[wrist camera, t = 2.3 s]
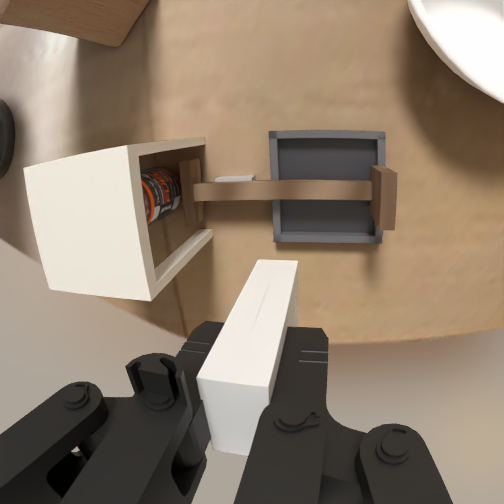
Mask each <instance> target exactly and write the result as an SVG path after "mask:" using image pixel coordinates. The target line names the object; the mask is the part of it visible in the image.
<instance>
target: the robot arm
mask: <svg viewBox="0 0 504 504" xmlns="http://www.w3.org/2000/svg"><path fill="white" fill-rule="evenodd" d="M13 148H14V124H13V118H12V115H11V112H10V109H9V107H8V106H7V104H6V103H5V102H4V101H3V100H1V99H0V178H1V177H2V176H3V175H4V174H5V173H6V171H7V169H8V167H9V165H10V162H11V159H12V154H13ZM297 306H298V261H286V260H258V261H257V263H256V265H255V267H254V269H253V271H252V273H251V275H250V276H249V278H248V280H247V282H246V284H245V286H244V288H243V290H242V292H241V294H240V296H239V297H238V299H237V301H236V303H235V305H234V307H233V309H232V311H231V313H230V315H229V316H228V318H227V320H226V322H225V323H221V322H210V321H205V322H204V323H202V324H201V325H199V326H198V327H196V328H195V329H194V330H193V331H192V333H191V334H190V336H189V337H188V339H187V342H185V343H184V345H183V346H182V348H181V351H179V353H178V354H177V356H176V357H174V356H171V355H168V354H163V353H152V354H147V355H142V356H140V357H138V358H136V359H133V360H132V361H131V362H130V363H129V364H127V365H126V366H125V367H126V370H127V373H128V376H129V379H130V381H131V384H132V387H133V389H134V392H135V394H134V396H133V397H103V395H102V393H101V391H100V389H99V388H98V387H97V386H96V385H95V384H92V383H90V382H75V383H71V384H69V385H67V386H65V387H63V388H62V389H60V390H59V391H58V392H56V393H55V394H54V395H52V396H51V397H50V398H49V399H47V400H46V401H45V402H43V403H42V404H40V405H39V406H38V407H36V408H35V409H34V410H32V411H31V412H30V413H28V414H27V415H26V416H24V417H23V418H22V419H20V420H19V421H18V422H16V423H15V424H14V425H12V426H11V427H10V428H8V429H7V430H6V431H4V432H3V433H2V434H0V504H191V503H192V500H193V497H194V495H195V493H196V490H197V488H198V485H199V483H200V480H201V478H202V475H203V472H204V470H205V468H206V462H207V459H206V455H205V450H206V448H207V445H208V443H209V441H210V440H211V444H212V448H213V450H217V451H223V452H228V453H234V454H240V455H247V456H248V459H247V462H246V465H245V469H244V472H243V475H242V478H241V482H240V485H239V488H238V492H237V494H236V498H235V501H234V504H453V502H452V500H451V498H450V496H449V493H448V491H447V489H446V486H445V484H444V482H443V480H442V478H441V475H440V473H439V471H438V469H437V467H436V465H435V463H434V460H433V459H432V456H431V454H430V452H429V450H428V448H427V446H426V444H425V442H424V440H423V439H422V437H421V436H420V435H419V434H418V433H417V432H416V431H415V430H413V429H411V428H410V427H408V426H404V425H400V424H384V425H381V426H378V427H376V428H373V429H372V430H370V431H369V432H368V433H364V432H360V431H357V430H353V429H350V428H348V427H345V426H343V425H341V424H340V423H338V422H337V421H335V420H334V419H333V418H332V417H331V415H330V414H329V412H328V410H327V407H326V389H327V367H328V337H327V336H326V334H325V333H324V331H323V330H322V328H307V327H297ZM76 446H77V447H78V448H79V450H80V451H78V452H71V451H72V450H73V449H74V448H75V447H76Z"/></svg>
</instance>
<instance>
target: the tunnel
mask: <svg viewBox="0 0 504 504" xmlns="http://www.w3.org/2000/svg"><path fill="white" fill-rule="evenodd" d="M199 145H205V139H204V137H197V138H185V139H175V140H165V141H156V142H147V143H139V144H132V145H125V146H119V147H114V148H108V149H103V150H98V151H93V152H88V153H83V154H79V155H74V156H69V157H65V158H61V159H57V160H52V161H48V162H44V163H41V164H37V165H33V166H29V167H26V168H23V169H24V176H25V183H26V190H27V196H28V202H29V207H30V213H31V218H32V223H33V227H34V232H35V236H36V241H37V245H38V249H39V253H40V257H41V261H42V264H43V268H44V272H45V275H46V278H47V282H48V285H49V288H50V289H52V290H58V291H65V292H73V293H81V294H89V295H97V296H106V297H115V298H124V299H134V300H144V301H152V300H153V299H154V298H155V297H156V296H157V295H158V293H159V292H160V291H161V290H162V289H163V288H164V287H165V286H166V285H167V284H168V283H169V282H170V281H171V280H172V279H173V277H174V276H175V275H176V274H177V273H178V272H179V271H180V270H181V269H182V268H183V267H184V266H185V265H186V264H187V263H188V262H189V261H190V260H191V259H192V257H193V256H194V255H195V254H196V253H197V252H198V251H199V250H200V249H201V248H202V247H203V246H204V245H205V244H206V243H207V242H208V241H209V240H210V239H211V238H212V237H213V232H212V229H199V230H198V231H197V232H196V233H195V234H194V235H192V236H191V237H190V238H189V239H188V240H187V241H185V242H184V243H183V244H182V245H181V246H180V247H179V248H177V249H176V250H175V251H174V252H173V253H172V254H171V255H170V256H168V257H167V258H166V259H165V260H164V261H163V262H162V263H161V264H159V265H158V266H157V267H156V268H155V269H154V264H153V258H152V252H151V246H150V240H149V234H148V228H147V221H146V214H145V207H144V200H143V192H142V184H141V175H140V166H139V156H141V155H146V154H151V153H157V152H162V151H168V150H174V149H180V148H186V147H192V146H199ZM227 181H255V175H249V176H224V177H218V178H216V179H215V182H227ZM219 201H222V200H219Z"/></svg>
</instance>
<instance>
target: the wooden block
mask: <svg viewBox="0 0 504 504" xmlns="http://www.w3.org/2000/svg"><path fill="white" fill-rule="evenodd" d="M149 1H150V0H0V23H1V24H7V25H14V26H21V27H27V28H33V29H38V30H44V31H49V32H54V33H58V34H63V35H67V36H72V37H76V38H80V39H84V40H88V41H92V42H96V43H99V44H103V45H106V46H110V47H118V46H120V45H121V44H122V43H123V41H124V39H125V38H126V36H127V35H128V33H129V31H130V30H131V28H132V27H133V25H134V23H135V22H136V20H137V19H138V17H139V16H140V14H141V13H142V11H143V10H144V8H145V7H146V5H147V4H148V2H149Z"/></svg>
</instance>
